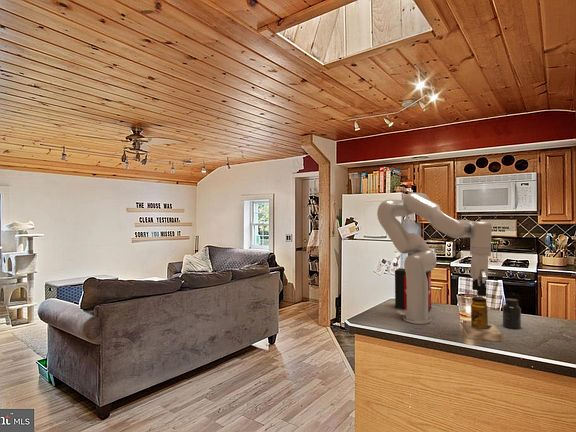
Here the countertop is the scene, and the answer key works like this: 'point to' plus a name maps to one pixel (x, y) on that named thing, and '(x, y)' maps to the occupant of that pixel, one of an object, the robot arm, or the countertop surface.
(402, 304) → the cleaning product box
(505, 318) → the supplement bottle
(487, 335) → the base slab
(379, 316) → the countertop surface
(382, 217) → the robot arm
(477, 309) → the condiment
